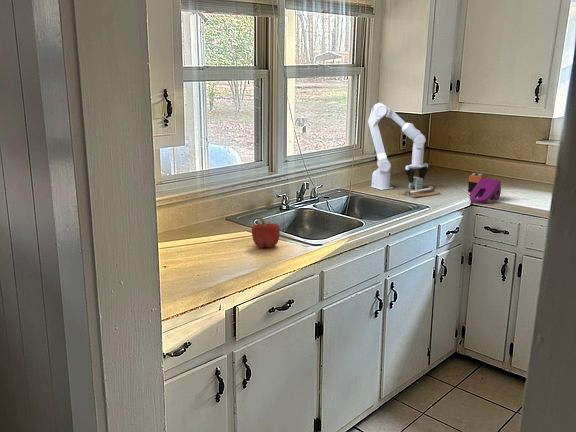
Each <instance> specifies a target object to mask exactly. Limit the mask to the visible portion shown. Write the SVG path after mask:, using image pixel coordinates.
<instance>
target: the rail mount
mask: <svg viewBox="0 0 576 432" xmlns="http://www.w3.org/2000/svg"><path fill="white" fill-rule="evenodd" d="M435 190H436V187H434V186H428V188H422V189H420V190H415V189H413V190H404V191H402V192H398V195H402V196H404V197H409V198H411V199H419V198H426V197H430V196H431V197H432V196H437V195H438V196H439V195H441V192H437V191H435Z"/></svg>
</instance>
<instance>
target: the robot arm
mask: <svg viewBox="0 0 576 432" xmlns="http://www.w3.org/2000/svg"><path fill="white" fill-rule="evenodd" d="M370 110H371V111H370V114H369V117H368V120H367V125H368V129H369V131H370V136H371V139H372V142H373V146H374V150H375V154H376V160H377V162H376V165H377V167H378V168H377V169H375V170H374V171H373V172H372V175H371V185H370V187H371V188H373V189H377V190H379V191H380V190H381V191H384V190H390V189H391V190H392V189H394V187H392V186H391V185H390V184H391V168H392V164H391V162H390V161H389V159H388V156H387V153H386V150H385V147H384V143H383V142H384V141H383V139H382V135H381V132H380V131H381V130H380V127H379V122H380V121H381V119H382V118H383V117H385V118H389V119H392V120H393V121H394V122H395V124H397V125H398V126H399V127H400V128H401V133H403V134H405V135H406V136H407V138H409V139H410V140H411V141H412V155H411V163H410V164H409V165H405V173H406V175H407V180H408V184H409V183H413V177H414V176H415V173H416V170H415V169H418V177H420V178H423V181H424V179H425V177H426V175H427V173H428V172H429V163H425V162H424V151H425V143H426V141H427V139H426V136H425V135H424V134H423V133H422V132H421V130H419V129H417V128H416V127H415V126H414V124H413V123H410V122H406V121H405V120H403V118H401V117H400V115H398V114H397V113H396V112H395V111H394V110H392V109H391V108H389V107H388V106H386V105H385V104H384V103H382V102H377V103H376V104H374V105H373V107H372V108H371V109H370Z"/></svg>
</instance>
